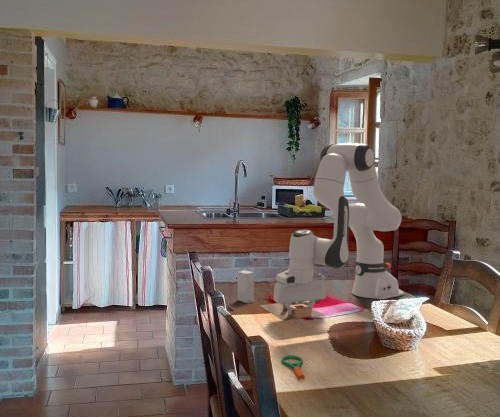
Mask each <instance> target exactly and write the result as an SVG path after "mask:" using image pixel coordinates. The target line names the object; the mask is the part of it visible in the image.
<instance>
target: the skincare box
mask: <svg viewBox="0 0 500 417" xmlns="http://www.w3.org/2000/svg"><path fill="white" fill-rule="evenodd" d="M236 273H237V274H236V277H237V278H236V279H237V280H236V281H237V301H239V302H242V303H244V304H245V303H246V304H251V303H254V302H255V272H253V271H250V270H249V271H248V270H245V269H244V270H240V271H237V272H236Z"/></svg>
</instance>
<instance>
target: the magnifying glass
mask: <svg viewBox="0 0 500 417" xmlns="http://www.w3.org/2000/svg"><path fill="white" fill-rule="evenodd" d="M287 360H296V361H298V362H287ZM303 363H304V361H303V358H302V357H301V356H298V355H294V354H289V355H284V356H282V357H281V364H283V365H284V366H286V367H287V366H288V368H289V367H290V368H289V369H291V370H292V371H293V372H294V375H295V376H296V378H298V380H299V379H302V380H305V379H306V378H305V377H306V376H305V374H304V372H303V370H302V369H301V367H302V366H303Z"/></svg>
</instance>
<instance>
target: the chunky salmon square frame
mask: <svg viewBox="0 0 500 417" xmlns="http://www.w3.org/2000/svg"><path fill="white" fill-rule="evenodd" d="M290 307H291V308H292V309H293V310H294V314H291V315H292V316H294V317H295V318H300V319H304V318H303V317H308V318H312V317H311V310H312V309H313V307H312V308H310V307H308V306H306V305H304V304H298V305H290Z"/></svg>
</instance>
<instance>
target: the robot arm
mask: <svg viewBox="0 0 500 417" xmlns="http://www.w3.org/2000/svg"><path fill="white" fill-rule="evenodd" d="M319 159H320V163H319V165H318V168H317V171H316V174H315V180H314V184H313V188H312V189H313V190H312V191H313V196H314V198H315V200H316V201H317V202H318V203H319V204H320V205H322V206H324V207H325V208H327V209H329V210H330V211H331V213H332V214H333V217H334V222H333V236H332V239H329V238H322V237H318V236H316V235H314V233H313V232H312V230H309V229H298V230H295V231H294V232H292V233H291V236H290V240H289V246H288V249H289V251H288V253H289V254H288V256H289V264H288V269H287V270H284V271H283V272H280V273H277V274H276V276H275V280H276V282H275V284H274V286H273V287H274V288H273V301H275V303H278V304H283V303H285V305H286V307H287V309H288V314H289V315H291V314H294V310H293V309H292V308H291V307H290V305H291V303H292V302H301V301H309V302H310V303H309V305H308V307H310V308H312V309H313V308H314V305H315V304H316V303H315V300H318V299H320V300H324V299H325V298H326V297H327V286H326V282H327V281H326V276H325V274H323V273H314V264H317V265H321V266H327V267H329V268H333V269H338V270H339V269H340V268H342V267H343V266H344V265H346V263H347V262H348V260H349V258H350V249H349V248H350V247H349V229H350V230H351V231H352V233H353V235H354V239H355V241H356V260H355V268H354V270H355V275H354V276H355V278H354V282H353V283H354V284H353V286H352V290H351V294H352V295H353V296H357V297H360V298H366V299H367V298H368V299H375V300H376V299H377V300H386V299H389V298H396V297H400V296H404V295H405V293H404V291H403V290H401V289H400V288H399V281H398V279H397V278H396V277H394V276H393V275H392V274H391V273H390V272H388V271H387V269H391V267H392V264H391V263H388V262H385V261H384V254H385V253H384V252H385V250H384V248H385V246H384V244H383V241H381V240H380V239H378V238H377V237H376V235H375V233H374V231H379V232H390V231H396V230H397V229H399V227H400V226H401V223H402V213H401V211H400V209H399V208H398V207H396V206H395V205H393V204H392V203H391V202H390V201H389V200H388V199H387V198H386V197H385V194H384V193H383V192H382V189H381V186H380V182H379V179H378V174H377V169H376V166H375V160H376V154H375V151H374V149H373V148H372V146H371V145H369V144H366V143H355V142H346V143H337V144H336V143H330V144H327V145H325V146H324V147H323V148H322V149H321V152H320V155H319ZM347 172H348V177H349V182H350V187H351V191H352V195H353V196H354V198H355V199H356V200H357V201H358V202H355V203H349V200H348V199H347V197H345V192H344V188H345V181H346V173H347ZM311 312H312V310H311Z"/></svg>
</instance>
